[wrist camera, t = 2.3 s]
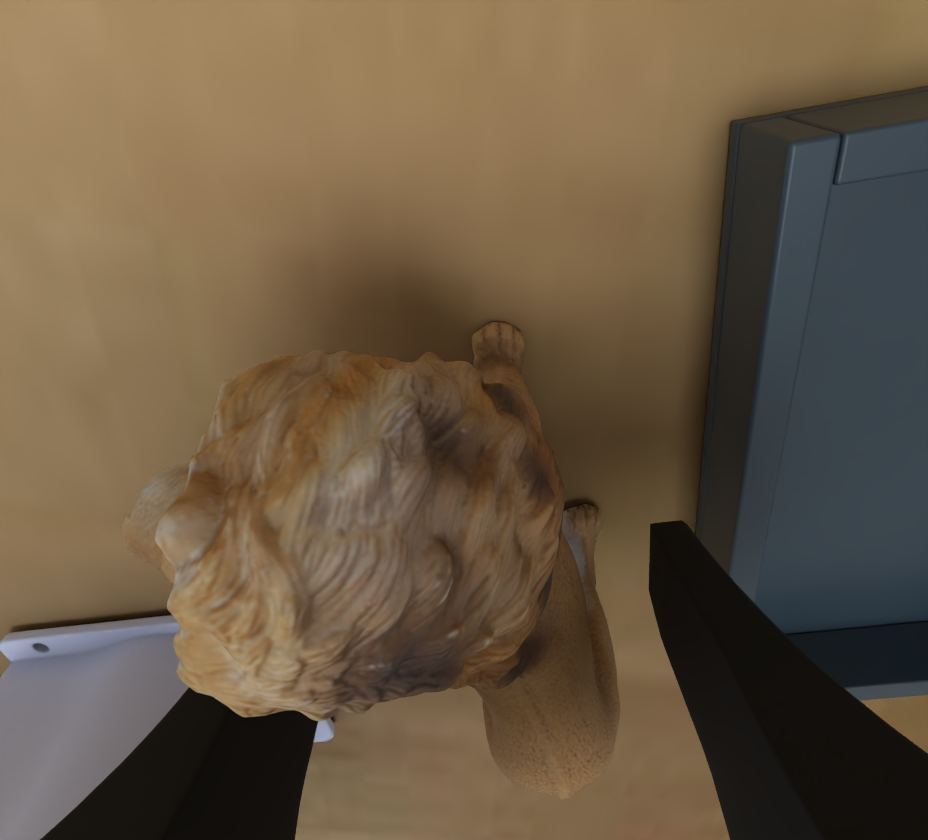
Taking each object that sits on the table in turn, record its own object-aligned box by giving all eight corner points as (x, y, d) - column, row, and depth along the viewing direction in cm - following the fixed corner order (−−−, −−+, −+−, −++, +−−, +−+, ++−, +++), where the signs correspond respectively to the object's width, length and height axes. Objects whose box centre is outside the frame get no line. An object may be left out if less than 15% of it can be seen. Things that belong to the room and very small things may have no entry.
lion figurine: (233, 294, 13) (-93, 669, 5) (436, 164, 11) (380, 433, 4) (530, 642, 20) (568, 1008, 12) (679, 591, 18) (824, 974, 11)
